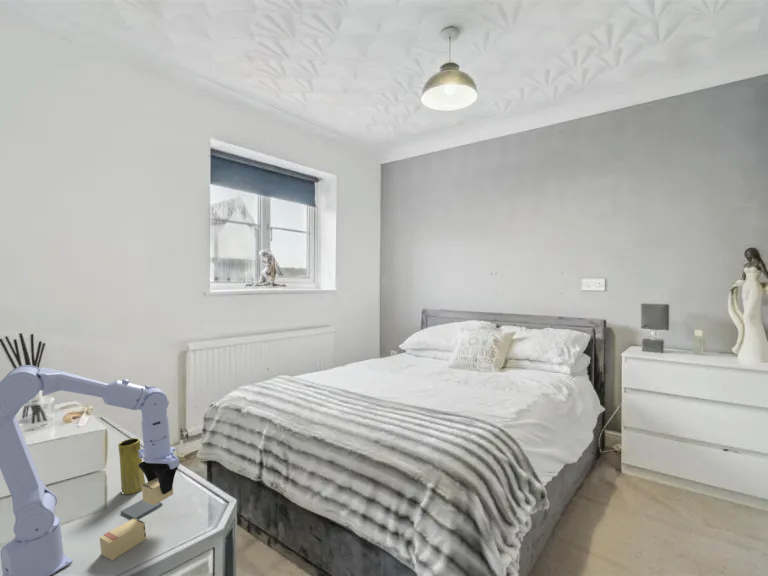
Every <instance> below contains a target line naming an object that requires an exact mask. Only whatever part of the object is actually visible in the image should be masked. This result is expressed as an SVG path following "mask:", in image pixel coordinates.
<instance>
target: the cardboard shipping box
mask: <svg viewBox="0 0 768 576" xmlns="http://www.w3.org/2000/svg"><path fill="white" fill-rule="evenodd" d="M146 531H147V530H146V522H144V521H142V520H140V519H136V518H133V519H130V520H128V521H126V522H125V523H123V524H121V525H119V526H117V527H115V528H113V529H112V530H109V531H107V532H105V533H103V535H101V536H99V544H100V552H101V554H100V555H102V556H103V557H105V558H107V559H108V560H109V559H110V560H109V561H111V562H112V561H113V560H115V559H116V558H118V557H120V556H121V555H123V554H125V553H127V552H128V551H130V550H131V549H133V548H134V547H136V546H138V545H139V544H141V543H142V542H144V541H146V540H147V534H146V533H147V532H146Z"/></svg>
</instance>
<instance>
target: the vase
mask: <svg viewBox="0 0 768 576" xmlns="http://www.w3.org/2000/svg"><path fill="white" fill-rule="evenodd" d="M117 445H118V454H119V465H120V466H119V467H120V483H121V488H120V489H121V490H122V492H123V493H124V494H129V495H133V494H135V493H136V494H137V493H138V492H140V491H142V485H143V484H145V483H146V480H145V474H144V472H143V471H142V470H141V469H140V467H139V464H140V463H142V462H143V460H142V459H143V458H139V452H138V451H139V450H141V449H142V448H141V441H140V438H134V437H133V438H129V439H125V440H122V441H121V442H119V443H118V444H117ZM124 494H123V495H124Z"/></svg>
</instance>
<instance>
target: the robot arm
mask: <svg viewBox="0 0 768 576" xmlns="http://www.w3.org/2000/svg"><path fill="white" fill-rule="evenodd" d="M40 391H42V396H46V395H50V394H53V393H56V392H60V391H62V392H63V391H64V392H69V393H75V394H81V395H87V396H91V397H96V398H97V397H98V398H102V400H103V402H104V404H105V405H107V406H112V407H113V406H114V407H117V408H123V409H127V410H132V411H138V410H141V418H142V419H141V433H142V442H143V448H140V449H141V450H139V451H138V452H139V458H142V459H143V460H142V463H140V464H139V467H140V469H141V470H142V471H143V472H144V477H145V478H146V480H147V482H149V481H151V480H153V479H155V478H158V481H159V484H160V489H161V492H162V494H166V493H168V492H170V491H171V490H172V486H173V485H174V482H175V481H174V479H175V475H176V472H177V470H178V469H179V467H180V458H179V457H177V456H176V455H175V453H174V452H175V451H176V448H175V447H173V446H172V445H171V435H170V426H169V425H170V424H169V416H168V410H167V409H168V407H169V404H170V401H169V400H168V397H167V396H166V393H164V391H163V390H162V389H160V388H157V386H150V385H148V384H145V386H144V385H140V384H136V383H131V382H130V379H126V378H123V379H122V380H120V379H119V380H118V379H117V380H113V381H111V382H108V383H106V382H104V381H100V380H98V379H97V380H96V379H94V378H93V379H92V378H89V377H85V376H83V375H82V376H81V375H78V374H74V373H70V372H67V371H63V370H58V369H55V368H50V367H42V366H41V368H40V367H38V366H36V365H30V364H25V365H24V364H23V365H21V366H17V367H15V368H13V369H11V371H9V372H8V373H7V374H6V376H5V377H4V378H2V379H1V381H0V472H1V474H2V476H3V479H4V481H5V485H6V486H7V488H8V491H9V493H10V496H11V501H12V512H13V515H14V518H15V519H14V520H15V522H14V525H13V533H14V535H15V536H14V538H13V539H12V540H10V542H8V543H6V544H4V545H2V547H0V563H1V573H2V576H51V575H53V574H55V573H56V572H58V571H60V570H61V569H64V568H66V567H67V566H69V565H71V564H72V563H73V559H71V558H70V557H69V556H67V555H65V553H64V546H63V545H64V544H63V540H62V539H63V538H62V537H63V536H62V529H61V527H62V526H61V519H60V518H59V517H58V516H57V515H55V511H56V506H57V503H58V497H57V495H56V494H55V493H54V492H53V491H51V490H49V489H48V488H47V486H46V484H45V482H44V481H42V479H41V477H40V474H39V472H38V469H37V468H36V465H35V462H34V460H33V457H32V454H31V451H30V449H29V447H28V444H27V442H26V439H25V436H24V434H23V431H22V430H21V427H20V424H19V421H18V419H17V414H18V413H19V411H20V410H22V408H23V406H24V405H25V404H27V403H29V402H30V401H31V400H32V399H34V398H35V397H36V396H37V395H38V394H39V393H40Z"/></svg>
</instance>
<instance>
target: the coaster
mask: <svg viewBox="0 0 768 576" xmlns="http://www.w3.org/2000/svg"><path fill="white" fill-rule="evenodd" d="M162 506H163V502H162V501H161V502H159V503H157V504H155V505H151V504H149V503H147V502H145V501H143V499H141V500H139V501H137V502H135V503H133V504H132V505H129V506H128V507H126V508H124V509H121V511H120V513H121V514H122V515H124V516H126V517H128V518H130V520H132V519H133V518H136V519H138V520H140V518H143V517H144V516H145V515H147V514H150V513H151V512H153V511H155V510H156V509H158V508H160V507H162Z"/></svg>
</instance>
